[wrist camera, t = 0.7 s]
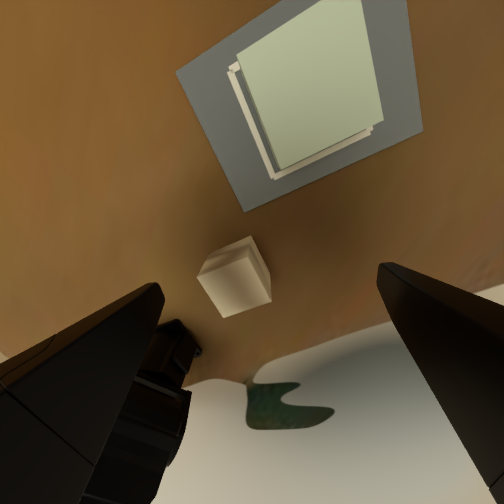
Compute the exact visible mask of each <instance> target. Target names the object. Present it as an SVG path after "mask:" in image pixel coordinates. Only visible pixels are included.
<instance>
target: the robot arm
mask: <svg viewBox="0 0 504 504" xmlns="http://www.w3.org/2000/svg"><path fill="white" fill-rule="evenodd" d="M377 287H378V290H379V292H380V294H381V297H382V299H383V301H384V304H385V306H386V308H387V311H388V313H389V315H390V318H391V320H392V322H393V324H394V326H395V327H396V329H397V331H398V333H399V334H400V336H401V338H402V339H403V341H404V343H405V345H406V347H407V348H408V350H409V352H410V354H411V355H412V357H413V359H414V360H415V362H416V364H417V366H418V367H419V369H420V371H421V373H422V374H423V376H424V378H425V379H426V381H427V383H428V385H429V386H430V388H431V390H432V391H433V393H434V395H435V397H436V398H437V400H438V402H439V404H440V405H441V407H442V409H443V411H444V412H445V414H446V416H447V418H448V419H449V421H450V423H451V424H452V426H453V428H454V430H455V431H456V433H457V435H458V437H459V438H460V440H461V442H462V444H463V445H464V447H465V448H466V450H467V452H468V454H469V456H470V457H471V459H472V460H473V462H474V464H475V466H476V468H477V469H478V471H479V473H480V475H481V476H482V478H483V480H484V482H485V483H486V485H487V486H488V487H489V491H490V492H491V494H492V496H493V497H494V499H495V501H496V503H497V504H504V306H503V305H500V304H498V303H495V302H493V301H490V300H488V299H485V298H483V297H480V296H477V295H475V294H472V293H470V292H467V291H465V290H462V289H460V288H457V287H454V286H452V285H449V284H447V283H444V282H442V281H439V280H437V279H434V278H431V277H429V276H426V275H424V274H421V273H419V272H416V271H414V270H411V269H408V268H406V267H403V266H401V265H398V264H396V263H393V262H387V263H381V264H379V267H378V274H377ZM164 303H165V297H164V294H163V292H162V290H161V288H160V285H159V284H158V283H156V282H154V283H147V284H145V285H143V286H141V287H140V288H138V289H136V290H134V291H132V292H131V293H129V294H127V295H125V296H123V297H122V298H120V299H118V300H116V301H114V302H113V303H111V304H109V305H107V306H105V307H104V308H102V309H100V310H98V311H96V312H94V313H93V314H91V315H89V316H87V317H85V318H84V319H82V320H80V321H78V322H76V323H75V324H73V325H71V326H69V327H67V328H66V329H64V330H62V331H60V332H58V333H57V334H55V335H53V336H51V337H49V338H47V339H46V340H44V341H42V342H40V343H38V344H36V345H35V346H33V347H31V348H29V349H27V350H25V351H23V352H22V353H20V354H18V355H16V356H14V357H12V358H10V359H8V360H6V361H4V362H3V363H0V504H150V503H151V502H152V500H153V499H154V498H155V496H156V494H157V491H158V488H159V485H160V482H161V479H162V476H163V473H164V471H165V468H166V467H167V466H169V465H170V464H171V462H172V461H173V459H174V458H175V455H176V454H177V451H178V449H179V447H180V444H181V442H182V439H183V436H184V433H185V429H186V424H187V418H188V412H189V406H190V401H191V395H192V392H191V391H188V390H187V391H186V390H184V389H181V387H182V384H183V381H184V378H185V375H186V374H188V372H189V369H190V366H191V363H192V360H193V358H195V357H198V356H201V355H202V350H201V348H200V347H199V346H198V344H197V343H196V342H195V341H194V339H193V338H192V337H191V335H190V334H189V333H188V332H187V330H186V329H185V328H184V326H183V325H182V324H181V322H180V321H179V320H173V321H170V322H167V323H164V324H162V325H159V326H157V324H158V321H159V318H160V315H161V312H162V309H163V306H164ZM175 323H176V324H175Z"/></svg>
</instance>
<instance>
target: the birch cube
mask: <svg viewBox="0 0 504 504" xmlns="http://www.w3.org/2000/svg"><path fill="white" fill-rule="evenodd" d="M197 279H198V280H199V282H200V283H201V285H202V286H203V288H204V289H205V291H206V292H207V294H208V295H209V297H210V298H211V300H212V301H213V303H214V304H215V306H216V307H217V309H218V310H219V312H220V313H221V315H222V316H223V318H225V317H228V316H231V315H234V314H237V313H240V312H243V311H246V310H249V309H251V308H254V307H257V306H260V305H263V304H266V303H269V302H272V301H271V281H270V272H269V270H268V268H267V266H266V264H265V262H264V260H263V258H262V256H261V254H260V252H259V250H258V248H257V246H256V244H255V242H254V240H253V238H252V236H248V237H246V238H244V239H241V240H239V241H237V242H234V243H232V244H230V245H227V246H225V247H223V248H220V249H218V250H216V251H213V252H211V253H209V255H208V257H207V259H206V260H205V262H204V264H203V266H202V268H201V270H200V272H199V273H198V275H197Z"/></svg>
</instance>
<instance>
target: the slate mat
mask: <svg viewBox="0 0 504 504" xmlns="http://www.w3.org/2000/svg"><path fill="white" fill-rule="evenodd" d="M319 1H321V0H281V1H280V2H278V3H277V4H275V5H274V6H272V7H271V8H269V9H268V10H267V11H265V12H264V13H262V14H261V15H259V16H258V17H256V18H255V19H253V20H252V21H250V22H249V23H247V24H246V25H244V26H243V27H241V28H240V29H238V30H237V31H235V32H234V33H232V34H231V35H229V36H228V37H226V38H225V39H223V40H222V41H220V42H219V43H217V44H216V45H215V46H213V47H212V48H210V49H209V50H207V51H206V52H204V53H203V54H201V55H200V56H198V57H197V58H195V59H194V60H192V61H191V62H189V63H188V64H186V65H185V66H183V67H182V68H180V69H179V70H177V71H176V72H175V73H176V75H177V77H178V79H179V81H180V83H181V85H182V87H183V89H184V91H185V93H186V95H187V97H188V99H189V101H190V103H191V105H192V107H193V109H194V111H195V114H196V116H197V118H198V120H199V122H200V124H201V126H202V128H203V130H204V132H205V134H206V136H207V138H208V140H209V142H210V144H211V146H212V148H213V150H214V152H215V154H216V156H217V158H218V160H219V162H220V164H221V166H222V168H223V170H224V173H225V175H226V177H227V179H228V181H229V183H230V185H231V187H232V189H233V191H234V193H235V195H236V197H237V199H238V201H239V203H240V205H241V207H242V209H243V211H244V213H245V212H247V211H250V210H252V209H254V208H256V207H258V206H261V205H263V204H265V203H267V202H269V201H271V200H274V199H276V198H278V197H280V196H282V195H285V194H287V193H289V192H291V191H293V190H296V189H298V188H300V187H302V186H304V185H307V184H309V183H311V182H313V181H315V180H318V179H320V178H322V177H324V176H326V175H328V174H331V173H333V172H335V171H337V170H339V169H342V168H344V167H346V166H348V165H350V164H353V163H355V162H357V161H359V160H361V159H364V158H366V157H368V156H370V155H372V154H375V153H377V152H379V151H381V150H383V149H385V148H388V147H390V146H392V145H394V144H396V143H399V142H401V141H403V140H405V139H407V138H410V137H412V136H414V135H416V134H418V133H421V132H423V125H422V118H421V110H420V102H419V95H418V87H417V80H416V72H415V64H414V57H413V49H412V41H411V34H410V26H409V19H408V11H407V3H406V0H361V3H362V9H363V14H364V19H365V24H366V30H367V35H368V40H369V45H370V50H371V56H372V61H373V66H374V71H375V76H376V82H377V87H378V92H379V97H380V102H381V108H382V113H383V118H384V120H383V121H381V122H379V123H377V124H375V125H373V126H371V127H368V128H366V129H364V130H362V131H360V132H358V133H356V134H354V135H352V136H350V137H348V138H346V139H344V140H342V141H340V142H338V143H335V144H333V145H331V146H329V147H327V148H325V149H323V150H321V151H319V152H317V153H315V154H313V155H311V156H309V157H307V158H305V159H303V160H300V161H298V162H296V163H294V164H292V165H290V166H288V167H286V168H284V169H282V170H281V169H280V168H279V167H278V166H277V163H276V161H275V158H274V156H273V153H272V151H271V148H270V145H269V143H268V140H267V138H266V135H265V133H264V130H263V128H262V125H261V123H260V120H259V117H258V115H257V112H256V110H255V107H254V105H253V102H252V100H251V97H250V95H249V92H248V90H247V87H246V84H245V82H244V79H243V77H242V73H241V70H240V66H239V63H238V59H237V56H236V55H237V54H238V53H240V52H241V51H243V50H245V49H246V48H248V47H249V46H251V45H252V44H254V43H255V42H257V41H259V40H260V39H262V38H263V37H265V36H266V35H268V34H269V33H271V32H273V31H274V30H276V29H277V28H279V27H280V26H282V25H283V24H285V23H286V22H288V21H290V20H291V19H293V18H294V17H296V16H297V15H299V14H300V13H302V12H304V11H305V10H307V9H308V8H310V7H311V6H313V5H314V4H316V3H317V2H319Z"/></svg>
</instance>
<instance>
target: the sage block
mask: <svg viewBox="0 0 504 504" xmlns="http://www.w3.org/2000/svg"><path fill="white" fill-rule="evenodd" d="M236 56H237V59H238V63H239V66H240V70H241V73H242V77H243V79H244V82H245V84H246V87H247V90H248V92H249V95H250V97H251V100H252V102H253V105H254V107H255V110H256V112H257V115H258V117H259V120H260V123H261V125H262V128H263V130H264V133H265V135H266V138H267V140H268V143H269V145H270V148H271V151H272V153H273V156H274V158H275V161H276V163H277V166H278V167H279V168H280V169H281V170H282V169H284V168H286V167H288V166H290V165H292V164H294V163H296V162H298V161H300V160H303V159H305V158H307V157H309V156H311V155H313V154H315V153H317V152H319V151H321V150H323V149H325V148H327V147H329V146H331V145H333V144H335V143H338V142H340V141H342V140H344V139H346V138H348V137H350V136H352V135H354V134H356V133H358V132H360V131H362V130H364V129H366V128H368V127H371V126H373V125H375V124H377V123H379V122H381V121H383V120H384V118H383V113H382V108H381V102H380V97H379V92H378V87H377V82H376V76H375V71H374V66H373V61H372V56H371V50H370V45H369V40H368V35H367V30H366V24H365V19H364V14H363V9H362V3H361V0H321V1H319V2H317V3H316V4H314V5H313V6H311V7H310V8H308V9H307V10H305V11H304V12H302V13H300V14H299V15H297V16H296V17H294V18H293V19H291V20H290V21H288V22H286V23H285V24H283V25H282V26H280V27H279V28H277V29H276V30H274V31H273V32H271V33H269V34H268V35H266V36H265V37H263V38H262V39H260V40H259V41H257V42H255V43H254V44H252V45H251V46H249V47H248V48H246V49H245V50H243V51H241V52H240V53H238V54H237V55H236Z"/></svg>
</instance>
